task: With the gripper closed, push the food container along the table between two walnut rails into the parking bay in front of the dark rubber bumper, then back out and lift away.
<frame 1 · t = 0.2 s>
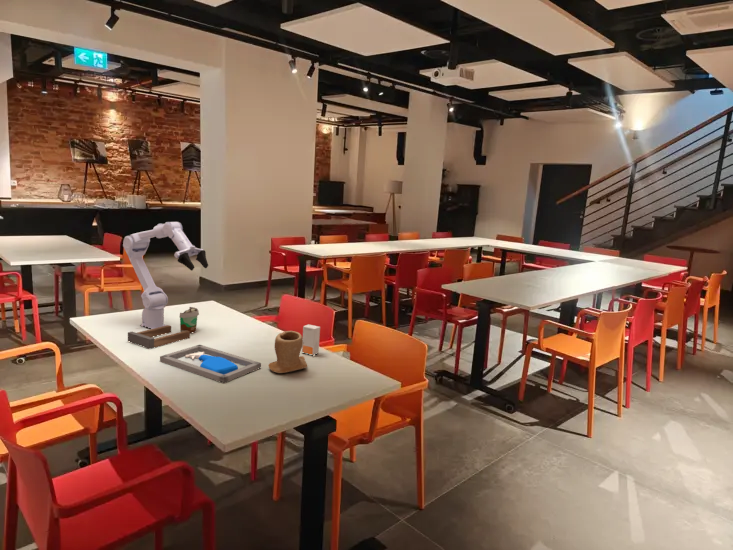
hand: (199, 267, 208), 32 cm above the table, tool tilted 50°, fingers open, 7 cm apart
skincare box: (310, 354, 205), on the table
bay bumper: (140, 344, 201), on the table
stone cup: (289, 370, 185), on the table
parking bay: (161, 339, 209), on the table
spray bottle: (210, 366, 185), resting in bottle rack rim
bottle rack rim: (210, 364, 184), on the table
food container: (191, 331, 223), on the table
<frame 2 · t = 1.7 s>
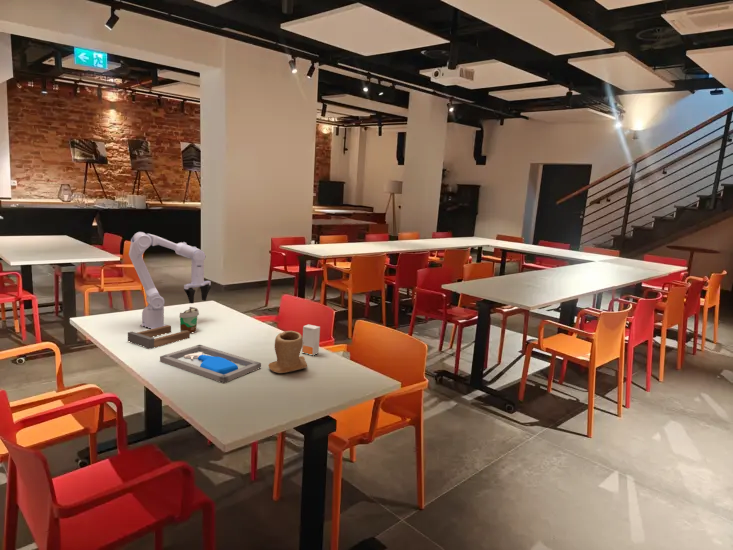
hand: (197, 301, 235), 11 cm above the table, tool pointing down, fingers open, 7 cm apart
nothing on the table moved.
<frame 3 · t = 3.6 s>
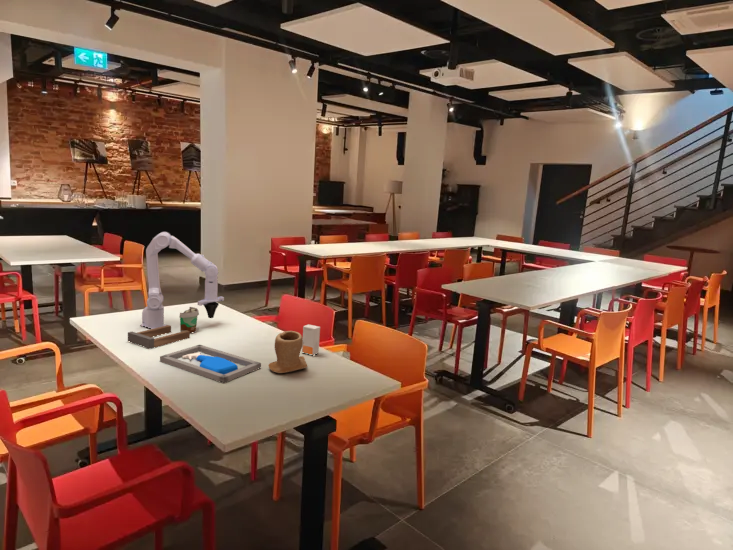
hand: (210, 317, 232), 4 cm above the table, tool pointing down, fingers closed
nothing on the table moved.
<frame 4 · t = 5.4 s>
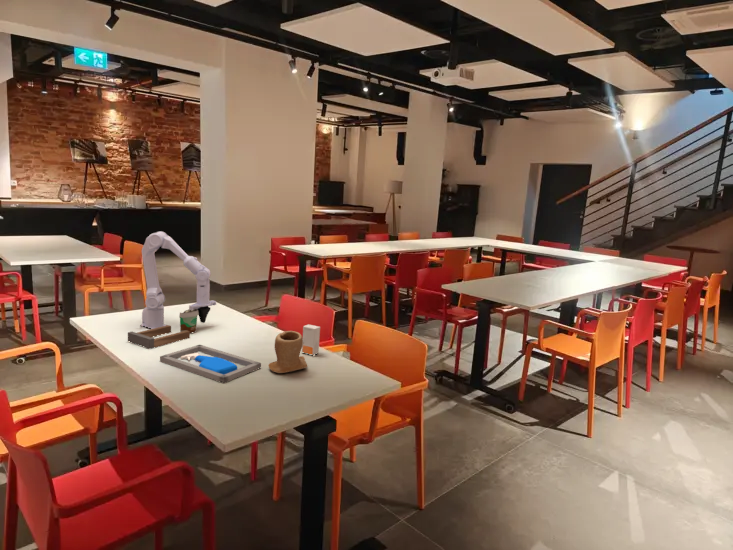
hand: (202, 322, 228), 3 cm above the table, tool pointing down, fingers closed
food container: (191, 331, 223), on the table, touching gripper
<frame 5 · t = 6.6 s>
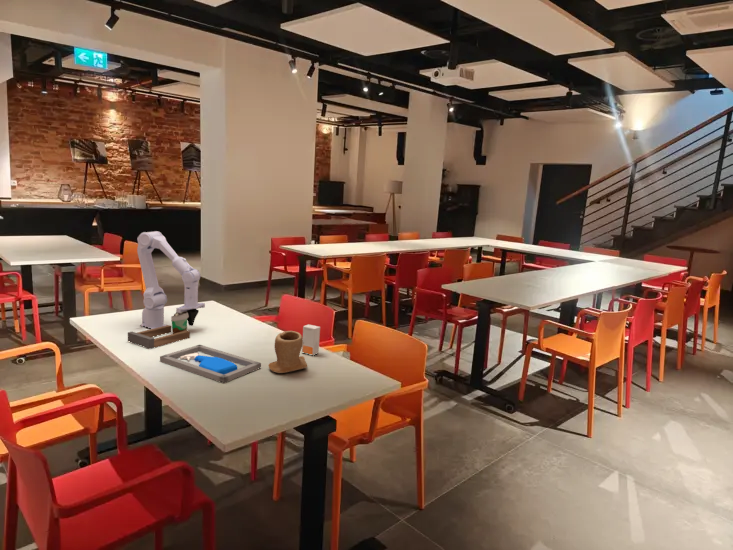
hand: (190, 325, 222), 3 cm above the table, tool pointing down, fingers closed
food container: (182, 334, 217), on the table, touching gripper
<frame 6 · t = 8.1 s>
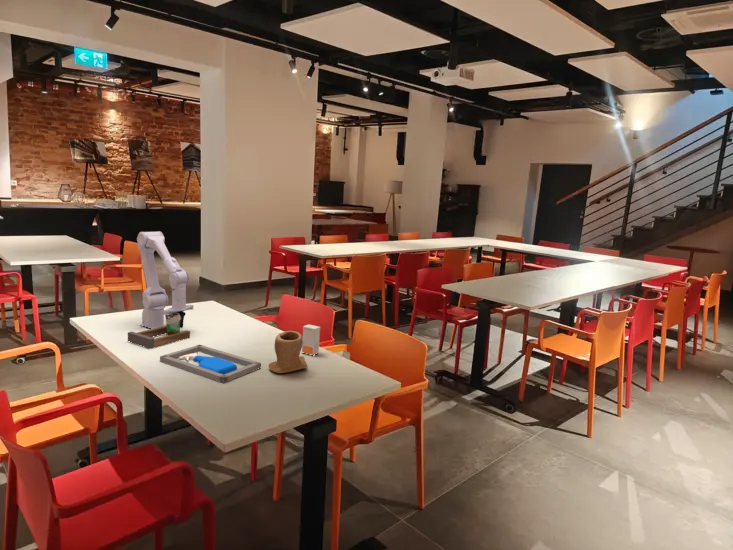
hand: (179, 327, 217), 3 cm above the table, tool pointing down, fingers closed, pressing on food container
food container: (175, 336, 213), on the table, touching gripper, parking bay
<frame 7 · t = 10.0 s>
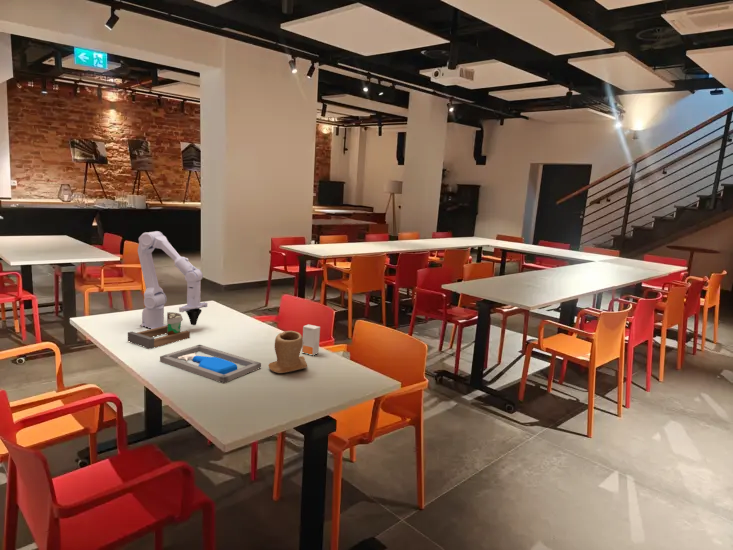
hand: (193, 324, 224), 3 cm above the table, tool pointing down, fingers closed
food container: (175, 337, 213), on the table
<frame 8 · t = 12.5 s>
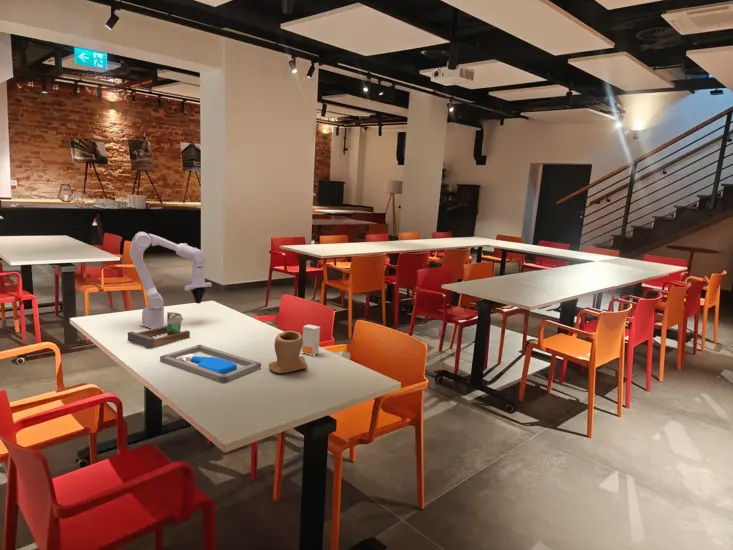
hand: (198, 303, 233), 10 cm above the table, tool pointing down, fingers closed
at the end: food container inside the target area (4.9 cm from its centre), on the table; food container tilted 0° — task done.
